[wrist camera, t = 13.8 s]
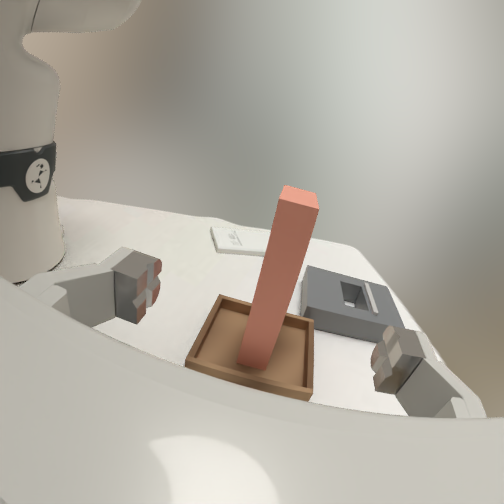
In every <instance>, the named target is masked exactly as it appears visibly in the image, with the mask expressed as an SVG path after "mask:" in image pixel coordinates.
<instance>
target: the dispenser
mask: <svg viewBox="0 0 504 504" xmlns="http://www.w3.org/2000/svg"><path fill="white" fill-rule="evenodd" d="M344 300H345V301H349V302H353V303H355V307H356V308H354V307H350V306H346V305H345V304H344ZM300 316H301V317H305V318H309V319H313V320H314V329H318V330H322V331H326V332H330V333H335V334H339V335H343V336H348V337H352V338H357V339H362V340H366V341H371V342H376V343H379V342H381V341H382V340H383V333H384V331H385V330H386V328H387V327H388V326H389V325H390V326H395V327H399V328H404V329H405V327H404V324H403V322H402V320H401V317H400V315H399V313H398V310H397V308H396V306H395V303H394V301H393V299H392V296H391V294H390V292H389V290H388V288H387V287H386V286H383V285H379V284H375V283H372V282H368V281H364V280H360V279H357V278H353V277H349V276H346V275H342V274H338V273H335V272H331V271H327V270H324V269H320V268H316V267H313V266H309V265H307V268H306V271H305V274H304V277H303V280H302V292H301V311H300Z"/></svg>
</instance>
